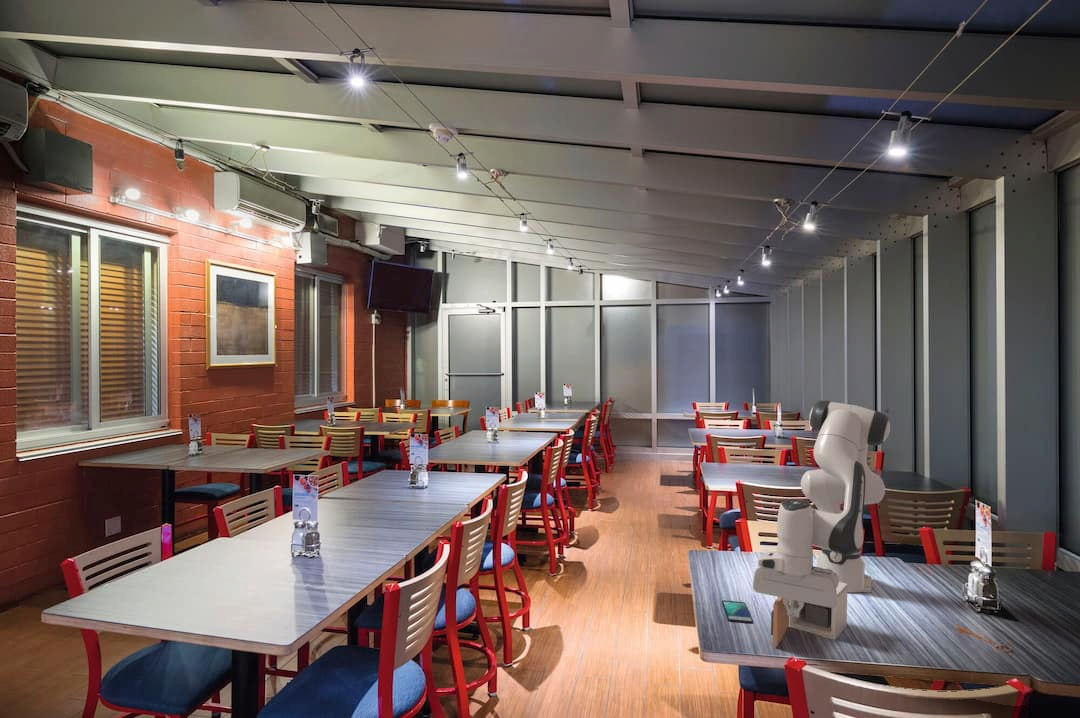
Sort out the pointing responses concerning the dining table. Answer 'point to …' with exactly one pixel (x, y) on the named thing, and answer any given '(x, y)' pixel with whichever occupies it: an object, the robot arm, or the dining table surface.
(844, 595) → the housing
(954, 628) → the key
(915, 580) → the dining table surface
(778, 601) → the hatch
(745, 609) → the smartphone
